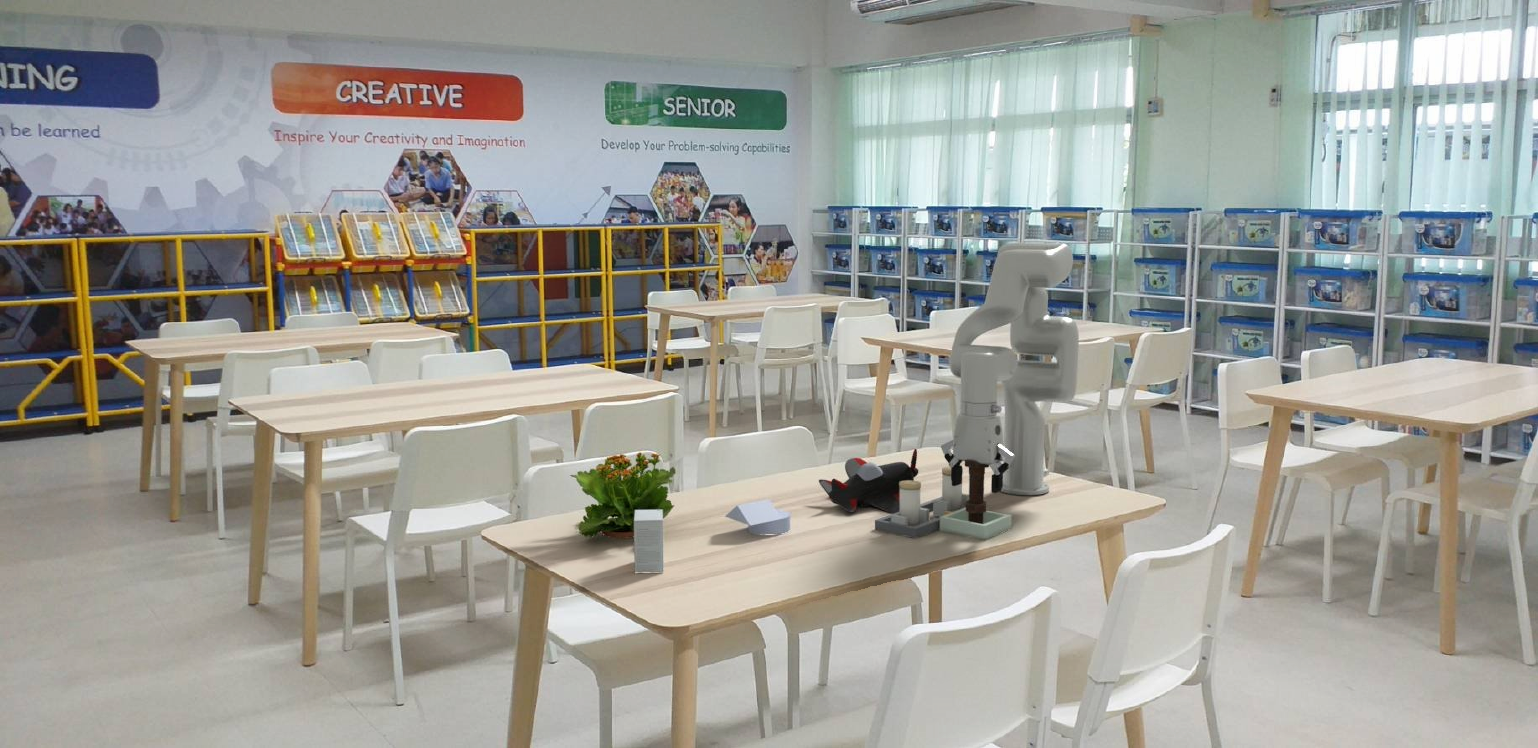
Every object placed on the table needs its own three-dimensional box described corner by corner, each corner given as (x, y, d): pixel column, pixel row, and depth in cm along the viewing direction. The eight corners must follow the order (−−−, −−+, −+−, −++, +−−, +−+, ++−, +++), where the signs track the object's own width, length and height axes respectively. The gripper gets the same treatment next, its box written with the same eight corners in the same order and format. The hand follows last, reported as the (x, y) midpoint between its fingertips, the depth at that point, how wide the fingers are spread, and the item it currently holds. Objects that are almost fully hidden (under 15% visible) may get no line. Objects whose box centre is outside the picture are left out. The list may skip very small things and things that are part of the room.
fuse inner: (948, 508, 269) (948, 465, 267) (965, 511, 266) (966, 468, 264) (937, 512, 265) (938, 469, 264) (955, 516, 262) (955, 472, 261)
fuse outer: (906, 524, 256) (907, 479, 255) (924, 527, 253) (925, 482, 252) (894, 528, 253) (895, 483, 251) (912, 532, 250) (913, 486, 248)
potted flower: (559, 522, 259) (556, 444, 256) (663, 511, 267) (661, 436, 264) (583, 553, 235) (580, 468, 233) (696, 541, 244) (695, 458, 241)
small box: (635, 561, 230) (634, 509, 229) (663, 560, 231) (663, 508, 229) (634, 574, 222) (633, 520, 221) (663, 573, 223) (662, 519, 221)
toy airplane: (804, 499, 284) (801, 446, 277) (887, 470, 292) (886, 418, 285) (862, 558, 262) (860, 503, 255) (950, 525, 270) (951, 470, 263)
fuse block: (874, 529, 252) (875, 513, 252) (945, 503, 273) (945, 489, 273) (917, 538, 245) (917, 522, 245) (986, 511, 266) (986, 496, 266)
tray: (966, 520, 259) (966, 506, 259) (1011, 529, 252) (1011, 515, 252) (939, 530, 251) (939, 517, 250) (984, 540, 244) (985, 526, 243)
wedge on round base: (750, 541, 244) (798, 530, 252) (750, 509, 243) (798, 499, 251) (724, 531, 251) (772, 521, 259) (724, 501, 250) (772, 491, 258)
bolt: (987, 531, 248) (988, 461, 246) (963, 530, 249) (964, 460, 247) (987, 523, 254) (989, 455, 252) (964, 522, 255) (965, 454, 253)
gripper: (1023, 411, 245) (1021, 491, 247) (952, 402, 256) (950, 479, 259) (1005, 416, 239) (1003, 498, 242) (933, 407, 250) (932, 485, 253)
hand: (976, 488), depth 250 cm, fingers open, 9 cm apart
